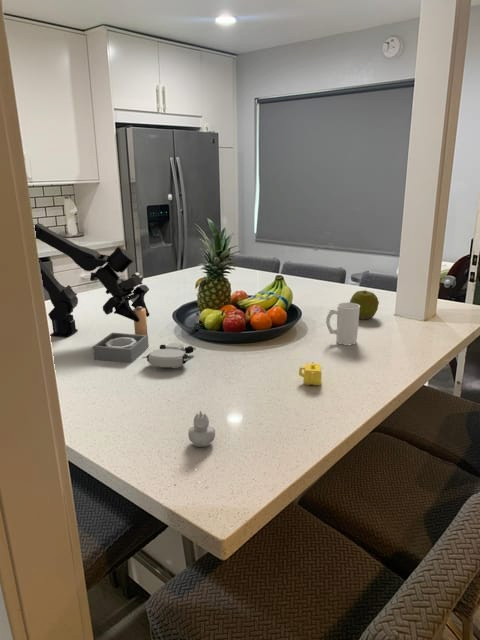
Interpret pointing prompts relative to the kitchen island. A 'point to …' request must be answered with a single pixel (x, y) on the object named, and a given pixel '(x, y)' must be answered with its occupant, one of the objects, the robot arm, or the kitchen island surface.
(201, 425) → the grey potted plant
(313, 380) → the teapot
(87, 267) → the robot arm
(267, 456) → the kitchen island surface
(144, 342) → the housing
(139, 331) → the orange cylinder
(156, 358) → the robot toy
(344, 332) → the mug
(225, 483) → the kitchen island surface
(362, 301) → the apple
